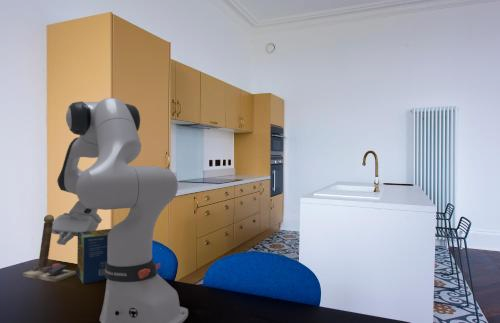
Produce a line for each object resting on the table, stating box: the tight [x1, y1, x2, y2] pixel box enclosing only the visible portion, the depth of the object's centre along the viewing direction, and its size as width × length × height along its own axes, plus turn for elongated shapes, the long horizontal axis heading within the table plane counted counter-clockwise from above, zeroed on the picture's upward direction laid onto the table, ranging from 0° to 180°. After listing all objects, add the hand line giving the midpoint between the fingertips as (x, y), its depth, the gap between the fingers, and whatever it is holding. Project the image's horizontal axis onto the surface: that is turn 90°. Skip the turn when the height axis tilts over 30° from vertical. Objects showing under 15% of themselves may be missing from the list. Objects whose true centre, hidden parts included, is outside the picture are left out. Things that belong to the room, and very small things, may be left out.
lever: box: [37, 214, 55, 270], centre depth 121 cm, size 3×3×20 cm
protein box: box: [76, 228, 112, 285], centre depth 119 cm, size 10×15×16 cm
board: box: [21, 265, 77, 283], centre depth 119 cm, size 16×8×3 cm, turn 70°
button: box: [51, 263, 61, 269], centre depth 120 cm, size 3×3×2 cm
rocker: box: [48, 264, 68, 275], centre depth 117 cm, size 3×5×1 cm, turn 160°
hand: (60, 243), depth 127 cm, fingers closed
